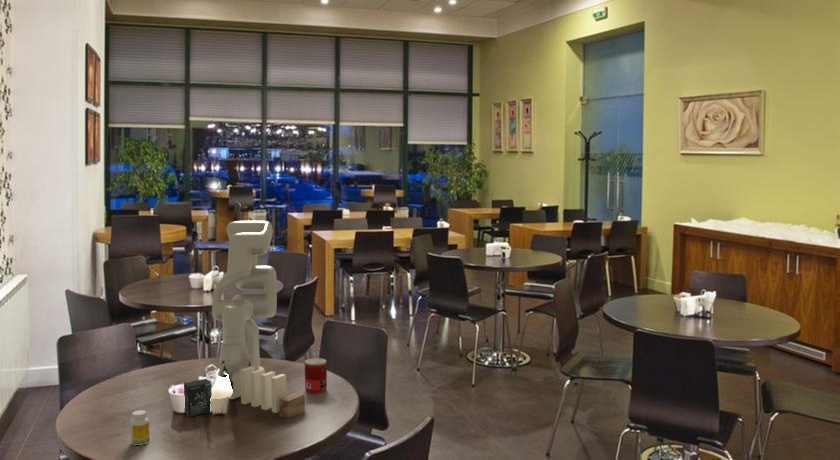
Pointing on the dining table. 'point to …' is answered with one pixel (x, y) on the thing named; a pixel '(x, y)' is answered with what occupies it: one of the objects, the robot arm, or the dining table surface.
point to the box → (197, 397)
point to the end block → (291, 405)
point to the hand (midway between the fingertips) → (235, 388)
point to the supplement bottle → (139, 428)
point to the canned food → (315, 375)
